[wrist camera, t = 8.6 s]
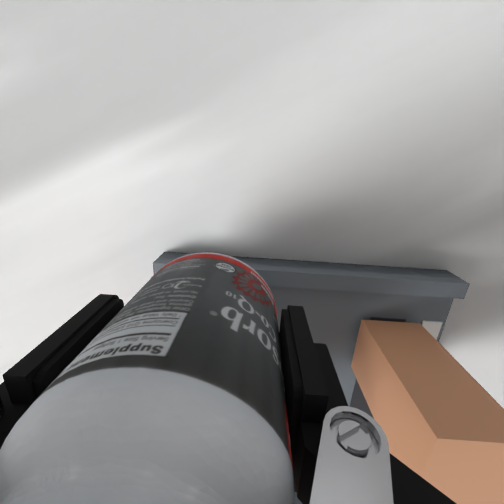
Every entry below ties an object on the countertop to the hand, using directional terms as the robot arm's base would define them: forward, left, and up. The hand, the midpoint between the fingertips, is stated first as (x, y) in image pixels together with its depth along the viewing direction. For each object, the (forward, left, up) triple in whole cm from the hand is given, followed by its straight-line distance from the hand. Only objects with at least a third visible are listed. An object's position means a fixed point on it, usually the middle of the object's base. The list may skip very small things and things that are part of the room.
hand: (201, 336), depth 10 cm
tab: (+3, +9, -4) cm, 10 cm away
